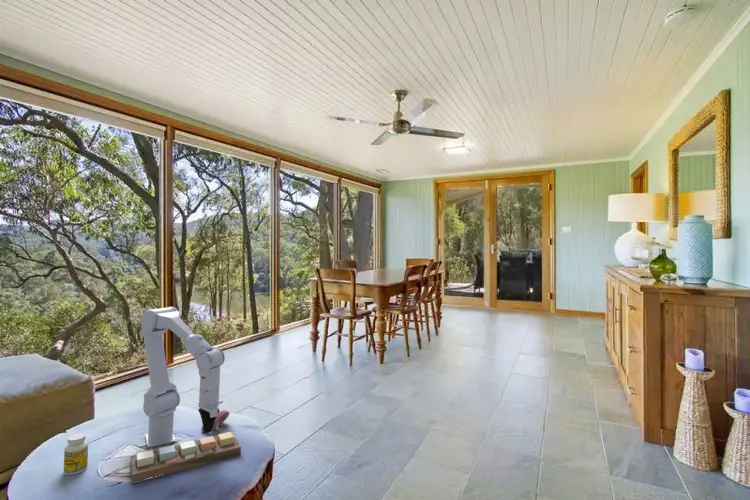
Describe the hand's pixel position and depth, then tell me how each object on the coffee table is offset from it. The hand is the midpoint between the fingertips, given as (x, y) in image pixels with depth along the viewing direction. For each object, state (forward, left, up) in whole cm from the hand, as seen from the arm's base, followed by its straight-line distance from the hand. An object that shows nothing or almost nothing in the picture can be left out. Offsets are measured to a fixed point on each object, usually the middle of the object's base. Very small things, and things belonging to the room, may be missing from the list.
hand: (207, 431), depth 119 cm
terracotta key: (0, 0, -5) cm, 5 cm away
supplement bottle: (-10, -33, -7) cm, 35 cm away
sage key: (0, -6, -5) cm, 8 cm away
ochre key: (0, +6, -5) cm, 8 cm away
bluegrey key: (0, -11, -5) cm, 12 cm away
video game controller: (-17, +6, -8) cm, 20 cm away
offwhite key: (0, -17, -5) cm, 18 cm away
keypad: (0, -6, -7) cm, 9 cm away
